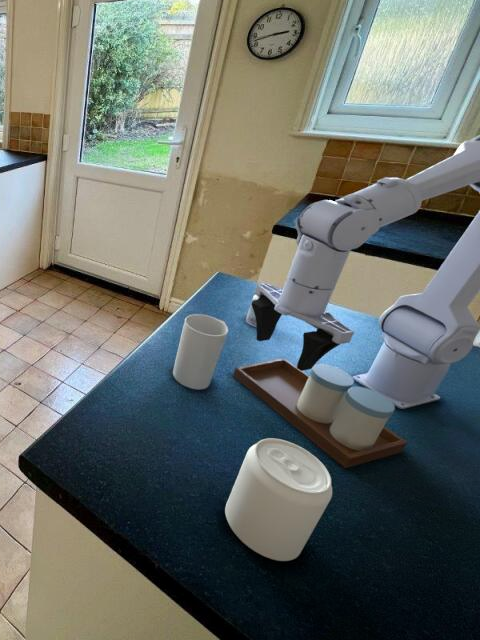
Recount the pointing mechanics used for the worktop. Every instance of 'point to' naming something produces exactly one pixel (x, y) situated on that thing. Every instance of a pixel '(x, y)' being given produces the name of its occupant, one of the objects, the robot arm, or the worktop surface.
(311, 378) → the white jar
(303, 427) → the tray
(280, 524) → the beverage can
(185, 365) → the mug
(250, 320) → the pill bottle
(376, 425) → the blue lidded jar
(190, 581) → the worktop surface
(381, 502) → the worktop surface
